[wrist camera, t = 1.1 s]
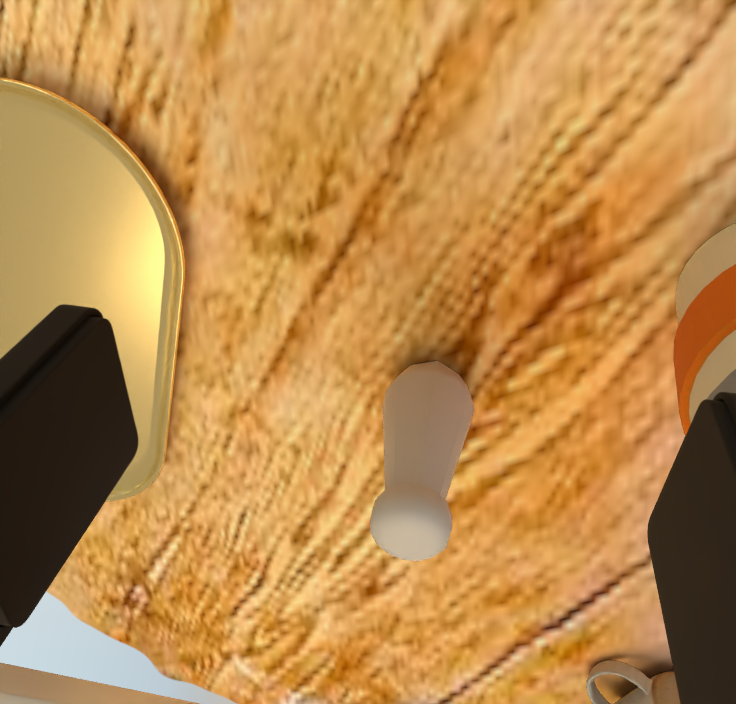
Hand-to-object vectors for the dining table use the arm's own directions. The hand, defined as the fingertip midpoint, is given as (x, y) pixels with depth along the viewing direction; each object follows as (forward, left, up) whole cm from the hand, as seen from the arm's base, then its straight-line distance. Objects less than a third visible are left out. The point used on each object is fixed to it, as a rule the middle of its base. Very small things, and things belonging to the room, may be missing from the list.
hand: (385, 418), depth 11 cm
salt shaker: (+8, -19, -27) cm, 34 cm away
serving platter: (-17, -29, -27) cm, 43 cm away
